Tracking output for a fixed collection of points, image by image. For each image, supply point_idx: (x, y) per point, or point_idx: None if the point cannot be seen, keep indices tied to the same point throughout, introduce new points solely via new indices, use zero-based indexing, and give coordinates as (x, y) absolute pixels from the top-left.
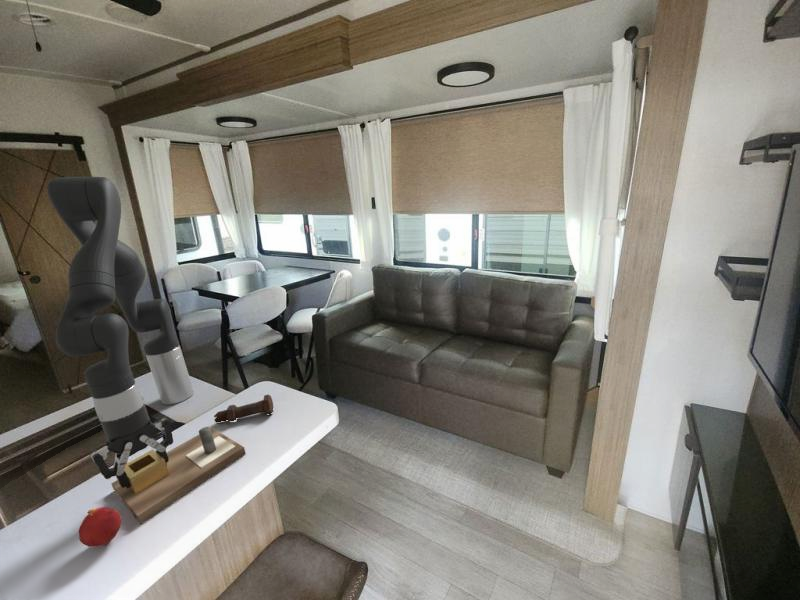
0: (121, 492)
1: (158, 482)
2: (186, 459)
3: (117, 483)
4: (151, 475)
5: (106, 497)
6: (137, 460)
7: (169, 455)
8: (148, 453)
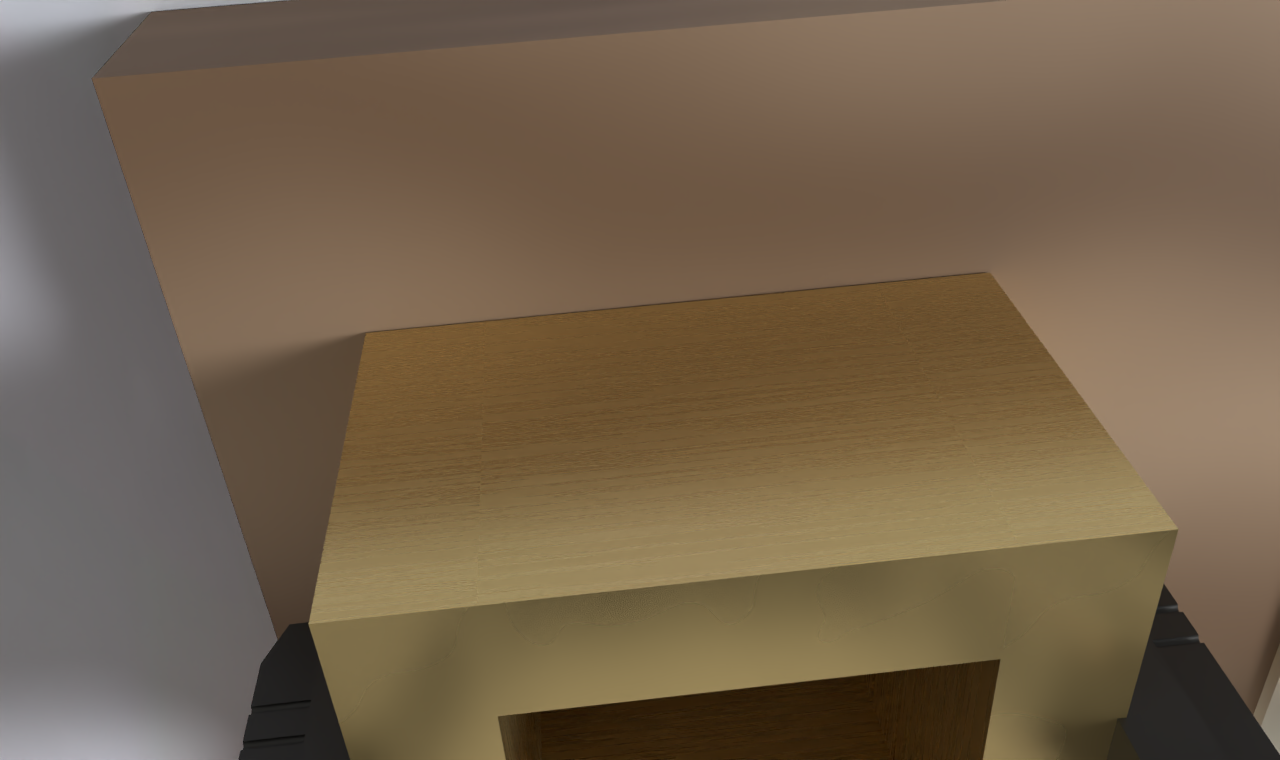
0: (279, 546)
1: None
2: (1274, 566)
3: (222, 205)
4: None
5: (16, 90)
6: (726, 688)
7: (1265, 177)
8: (1018, 613)
